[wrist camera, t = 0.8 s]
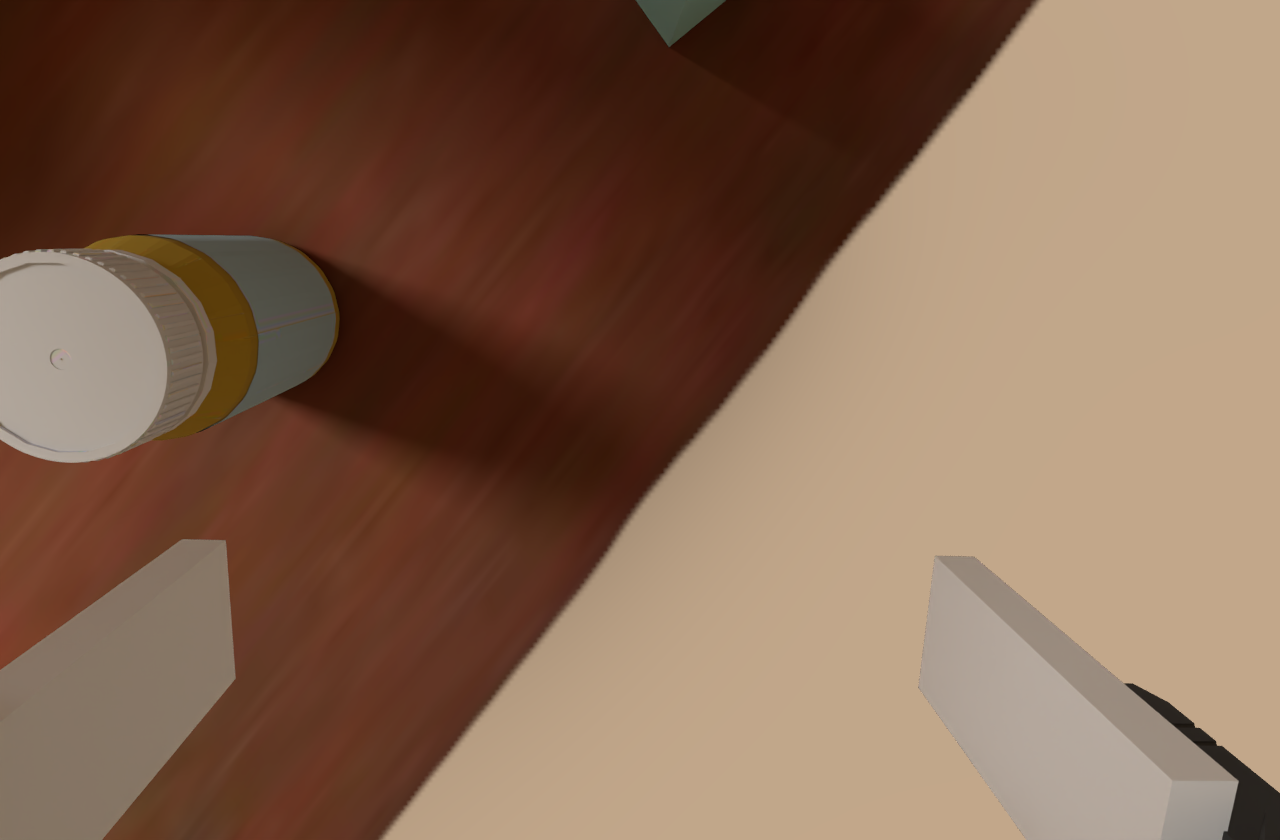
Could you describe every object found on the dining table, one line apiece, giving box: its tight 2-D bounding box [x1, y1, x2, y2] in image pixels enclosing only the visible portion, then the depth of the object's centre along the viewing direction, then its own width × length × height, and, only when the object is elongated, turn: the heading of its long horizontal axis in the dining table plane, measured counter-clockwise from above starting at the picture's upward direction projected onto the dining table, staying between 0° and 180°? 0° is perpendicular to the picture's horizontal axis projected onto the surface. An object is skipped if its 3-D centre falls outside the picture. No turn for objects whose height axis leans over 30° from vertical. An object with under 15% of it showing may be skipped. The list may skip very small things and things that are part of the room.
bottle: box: [0, 234, 340, 463], centre depth 31 cm, size 7×7×15 cm
